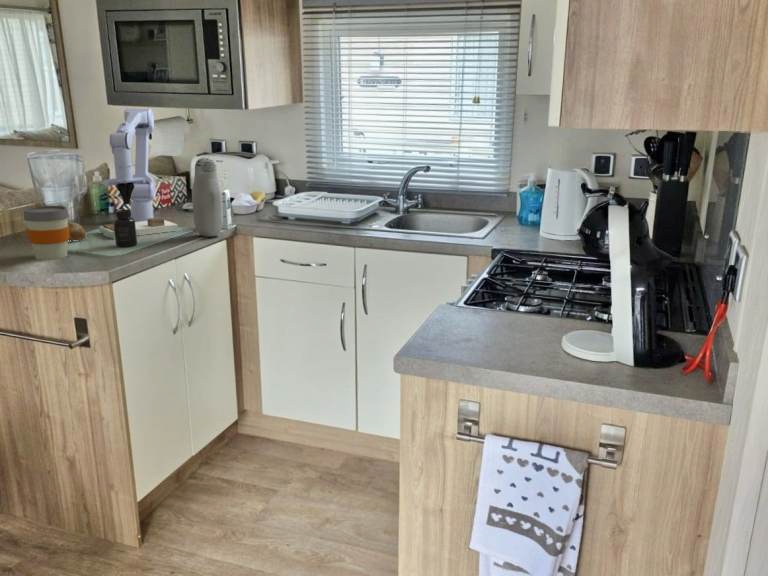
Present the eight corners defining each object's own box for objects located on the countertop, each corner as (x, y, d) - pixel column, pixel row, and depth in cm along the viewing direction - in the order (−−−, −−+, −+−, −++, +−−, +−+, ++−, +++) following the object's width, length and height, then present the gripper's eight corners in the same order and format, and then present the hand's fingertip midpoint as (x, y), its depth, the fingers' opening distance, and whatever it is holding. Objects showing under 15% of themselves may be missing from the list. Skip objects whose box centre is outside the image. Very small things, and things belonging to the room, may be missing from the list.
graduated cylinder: (228, 229, 255) (226, 191, 251) (213, 229, 255) (210, 191, 251) (232, 226, 260) (230, 189, 256) (217, 226, 260) (214, 189, 256)
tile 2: (147, 225, 248) (147, 218, 247) (159, 223, 251) (159, 217, 250) (152, 227, 245) (152, 220, 244) (164, 225, 247) (164, 219, 247)
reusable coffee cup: (33, 252, 215) (27, 206, 211) (76, 250, 218) (70, 205, 214) (25, 262, 203) (18, 213, 199) (70, 259, 206) (64, 211, 202)
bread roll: (87, 251, 234) (95, 229, 235) (59, 242, 226) (66, 220, 227) (75, 246, 241) (82, 225, 241) (47, 238, 233) (54, 216, 233)
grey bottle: (189, 236, 242) (184, 157, 234) (213, 232, 249) (209, 156, 242) (205, 240, 236) (200, 159, 228) (229, 236, 243) (225, 158, 235)
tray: (99, 232, 246) (98, 226, 245) (124, 230, 251) (123, 223, 251) (113, 239, 236) (112, 232, 235) (138, 236, 241) (137, 229, 240)
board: (124, 230, 251) (123, 223, 251) (162, 225, 261) (162, 219, 260) (138, 236, 241) (137, 229, 240) (178, 231, 251) (177, 224, 250)
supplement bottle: (141, 244, 228) (138, 209, 225) (128, 248, 222) (124, 212, 219) (125, 242, 231) (121, 208, 227) (111, 246, 224) (107, 211, 221)
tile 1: (115, 223, 247) (116, 230, 248) (103, 224, 245) (103, 231, 245) (120, 225, 244) (120, 232, 245) (107, 226, 241) (108, 233, 242)
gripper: (106, 168, 234) (110, 207, 238) (147, 166, 243) (150, 203, 247) (99, 166, 239) (103, 204, 243) (140, 164, 248) (143, 201, 252)
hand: (126, 204), depth 245 cm, fingers closed
